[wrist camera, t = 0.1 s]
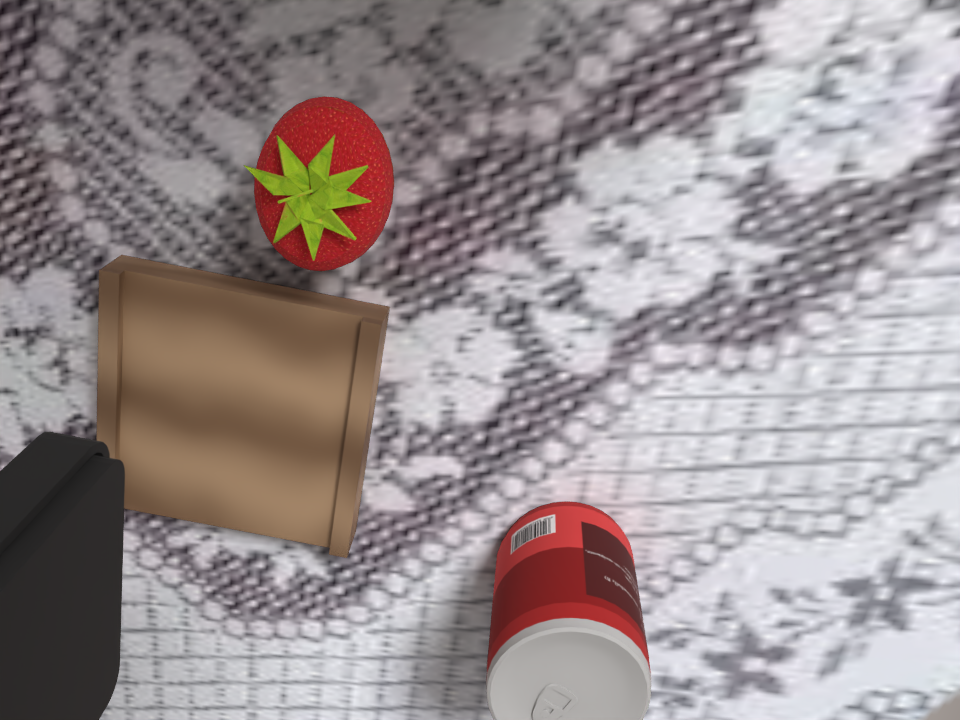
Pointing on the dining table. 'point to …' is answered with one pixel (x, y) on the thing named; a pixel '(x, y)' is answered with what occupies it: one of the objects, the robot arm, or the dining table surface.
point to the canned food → (567, 621)
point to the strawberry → (323, 184)
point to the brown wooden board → (237, 399)
